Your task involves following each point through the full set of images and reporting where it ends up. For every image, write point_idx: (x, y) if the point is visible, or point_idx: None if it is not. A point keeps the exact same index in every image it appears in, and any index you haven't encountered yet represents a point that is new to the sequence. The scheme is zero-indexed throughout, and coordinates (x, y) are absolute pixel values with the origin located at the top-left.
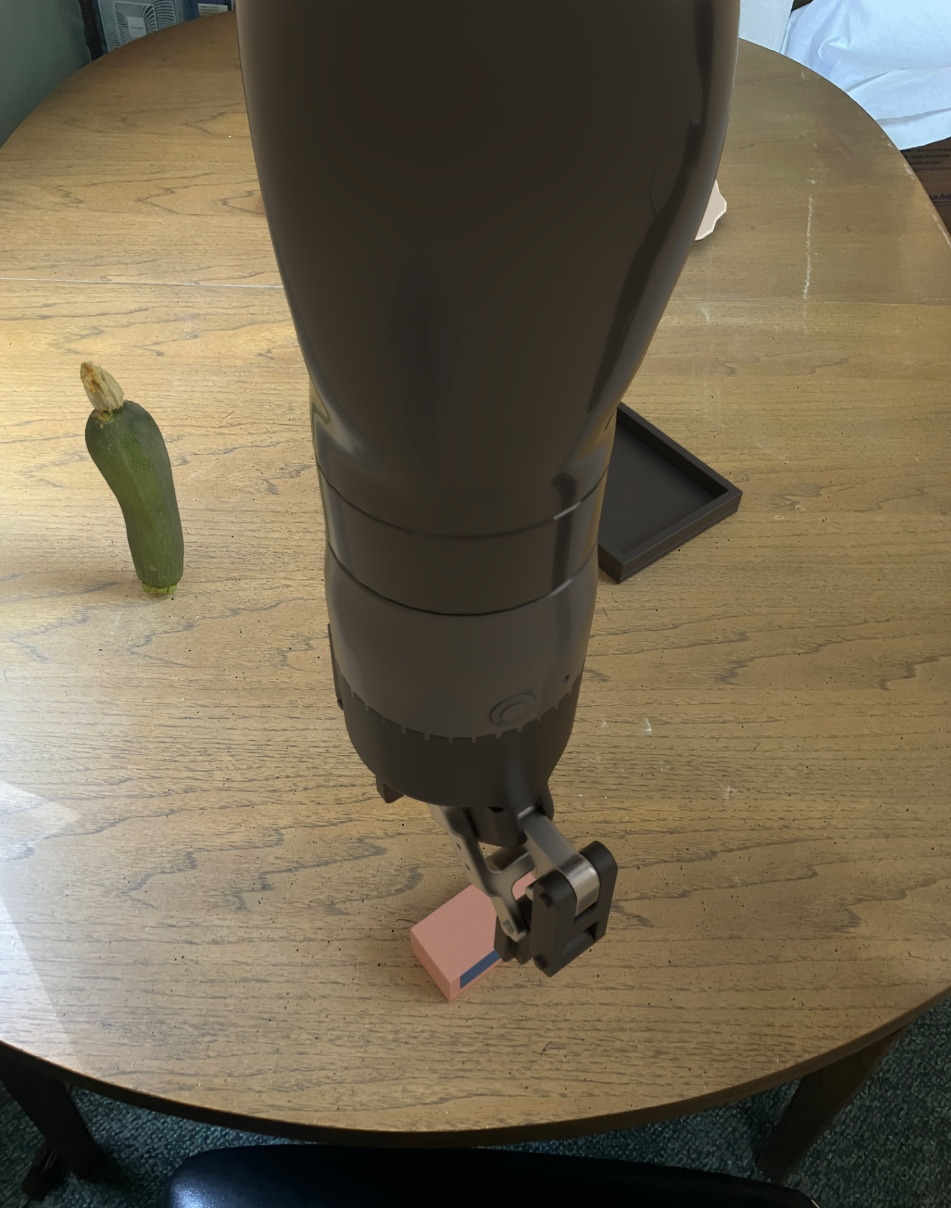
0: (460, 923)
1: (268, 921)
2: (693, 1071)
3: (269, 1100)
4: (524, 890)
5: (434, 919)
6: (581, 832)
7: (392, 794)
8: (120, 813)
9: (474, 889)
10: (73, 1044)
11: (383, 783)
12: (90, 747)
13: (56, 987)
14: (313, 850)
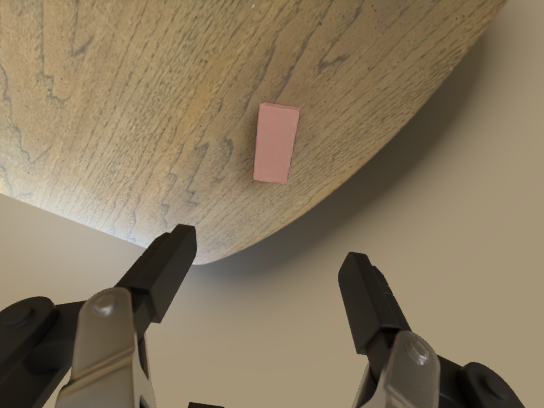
0: (268, 160)
1: (207, 200)
2: (404, 113)
3: (263, 235)
4: (281, 119)
5: (257, 168)
6: (274, 35)
7: (191, 258)
8: (130, 212)
9: (260, 141)
10: (208, 258)
11: (179, 286)
12: (91, 204)
13: None
14: (188, 168)
